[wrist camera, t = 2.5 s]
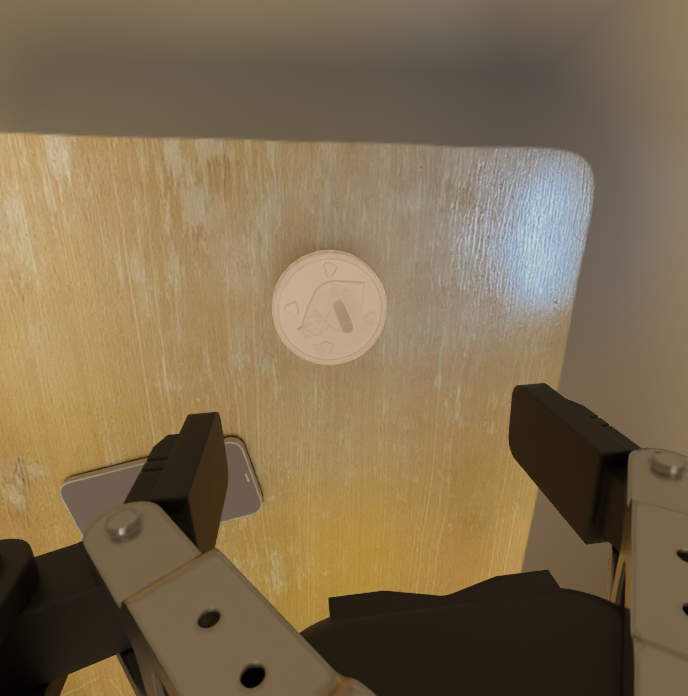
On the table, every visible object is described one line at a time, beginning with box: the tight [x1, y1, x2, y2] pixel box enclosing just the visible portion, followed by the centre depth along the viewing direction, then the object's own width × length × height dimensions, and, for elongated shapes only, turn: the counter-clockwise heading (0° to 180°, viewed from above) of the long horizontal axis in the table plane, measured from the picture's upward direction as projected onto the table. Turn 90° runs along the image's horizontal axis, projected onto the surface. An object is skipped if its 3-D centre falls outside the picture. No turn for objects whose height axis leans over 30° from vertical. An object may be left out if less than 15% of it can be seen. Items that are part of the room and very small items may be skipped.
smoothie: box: [271, 250, 387, 365], centre depth 27 cm, size 6×6×14 cm
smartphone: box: [59, 437, 263, 537], centre depth 38 cm, size 7×1×15 cm
